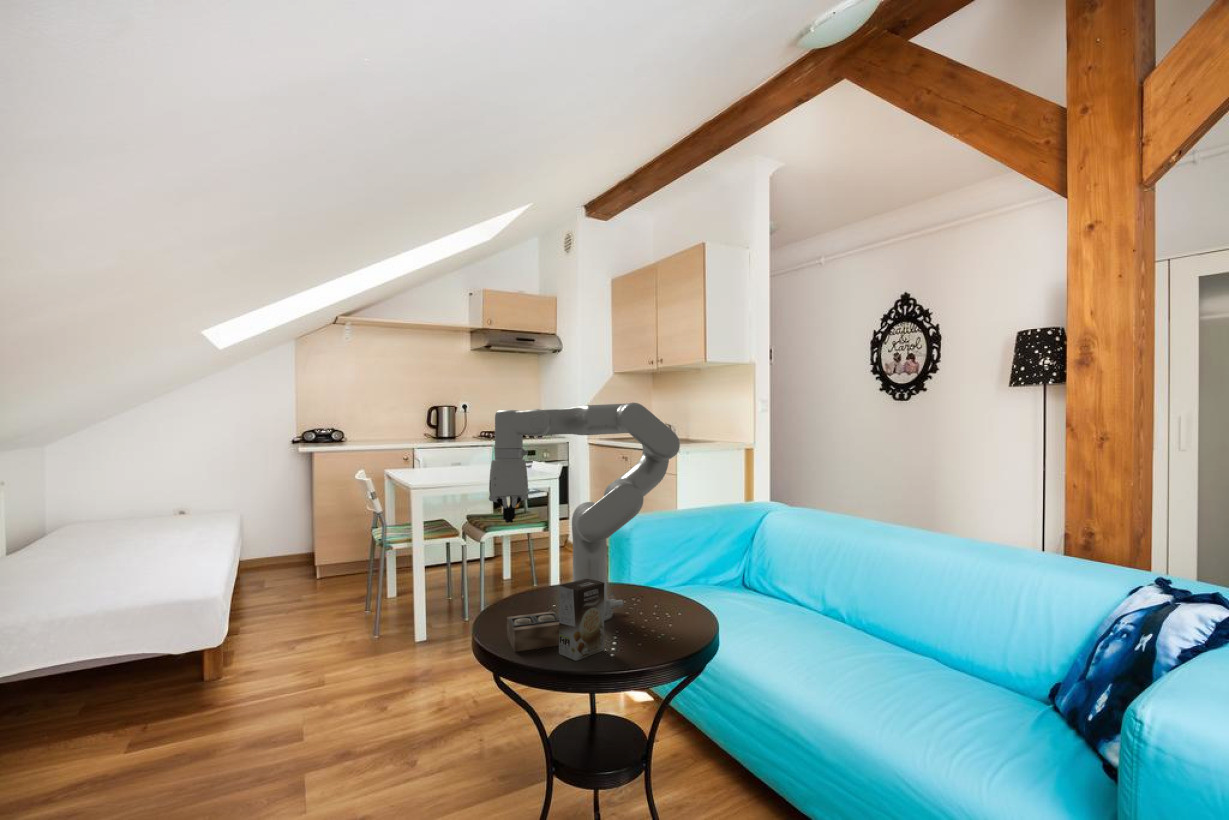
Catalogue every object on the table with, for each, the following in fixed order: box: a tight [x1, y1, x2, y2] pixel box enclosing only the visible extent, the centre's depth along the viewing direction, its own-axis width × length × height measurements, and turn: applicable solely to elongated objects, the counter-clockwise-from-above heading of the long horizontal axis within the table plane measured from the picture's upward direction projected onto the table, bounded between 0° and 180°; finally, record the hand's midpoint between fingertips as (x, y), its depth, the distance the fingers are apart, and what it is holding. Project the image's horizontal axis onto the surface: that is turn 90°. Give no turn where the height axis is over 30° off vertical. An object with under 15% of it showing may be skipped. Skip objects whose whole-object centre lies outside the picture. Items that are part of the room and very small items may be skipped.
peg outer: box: [515, 618, 531, 625], centre depth 140 cm, size 4×4×4 cm
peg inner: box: [538, 615, 555, 622], centre depth 142 cm, size 4×4×4 cm
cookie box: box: [558, 579, 605, 662], centre depth 134 cm, size 9×6×16 cm
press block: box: [506, 610, 559, 653], centre depth 141 cm, size 12×10×5 cm
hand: (508, 521), depth 155 cm, fingers closed
